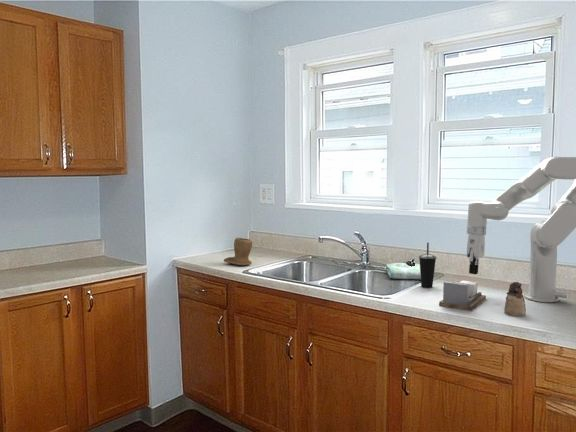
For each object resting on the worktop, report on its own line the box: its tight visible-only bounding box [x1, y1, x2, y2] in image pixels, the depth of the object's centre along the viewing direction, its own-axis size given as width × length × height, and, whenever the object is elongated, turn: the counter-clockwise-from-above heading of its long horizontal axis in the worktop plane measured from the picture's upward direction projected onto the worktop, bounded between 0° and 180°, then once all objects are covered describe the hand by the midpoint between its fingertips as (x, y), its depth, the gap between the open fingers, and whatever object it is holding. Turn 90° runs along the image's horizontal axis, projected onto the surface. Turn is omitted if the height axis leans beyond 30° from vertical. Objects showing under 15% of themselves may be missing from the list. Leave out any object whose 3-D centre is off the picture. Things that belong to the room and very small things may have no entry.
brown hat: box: [223, 237, 253, 266], centre depth 269 cm, size 15×12×15 cm
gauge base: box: [438, 291, 487, 312], centre depth 192 cm, size 12×20×3 cm, turn 143°
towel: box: [385, 262, 421, 281], centre depth 240 cm, size 18×21×5 cm
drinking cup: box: [418, 242, 437, 289], centre depth 217 cm, size 8×8×20 cm
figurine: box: [503, 281, 527, 318], centre depth 176 cm, size 7×7×12 cm
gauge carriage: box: [459, 280, 478, 297], centre depth 195 cm, size 9×10×5 cm
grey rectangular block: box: [442, 280, 470, 306], centre depth 185 cm, size 9×3×8 cm, turn 53°
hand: (473, 273), depth 204 cm, fingers closed
